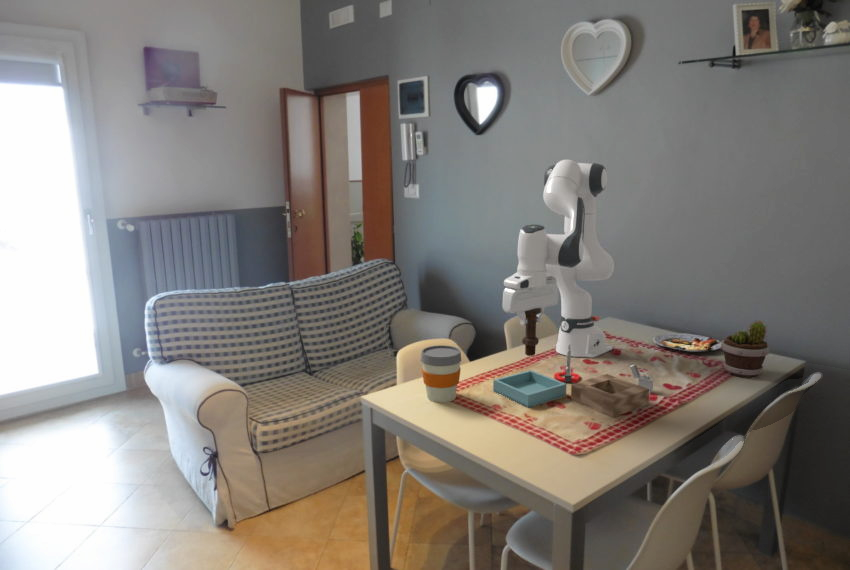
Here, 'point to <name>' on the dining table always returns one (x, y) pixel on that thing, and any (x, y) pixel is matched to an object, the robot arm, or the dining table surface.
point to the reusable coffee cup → (441, 372)
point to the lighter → (642, 378)
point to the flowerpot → (746, 351)
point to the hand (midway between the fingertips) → (530, 323)
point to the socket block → (610, 395)
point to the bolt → (531, 332)
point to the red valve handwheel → (567, 371)
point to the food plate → (685, 345)
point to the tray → (529, 388)
